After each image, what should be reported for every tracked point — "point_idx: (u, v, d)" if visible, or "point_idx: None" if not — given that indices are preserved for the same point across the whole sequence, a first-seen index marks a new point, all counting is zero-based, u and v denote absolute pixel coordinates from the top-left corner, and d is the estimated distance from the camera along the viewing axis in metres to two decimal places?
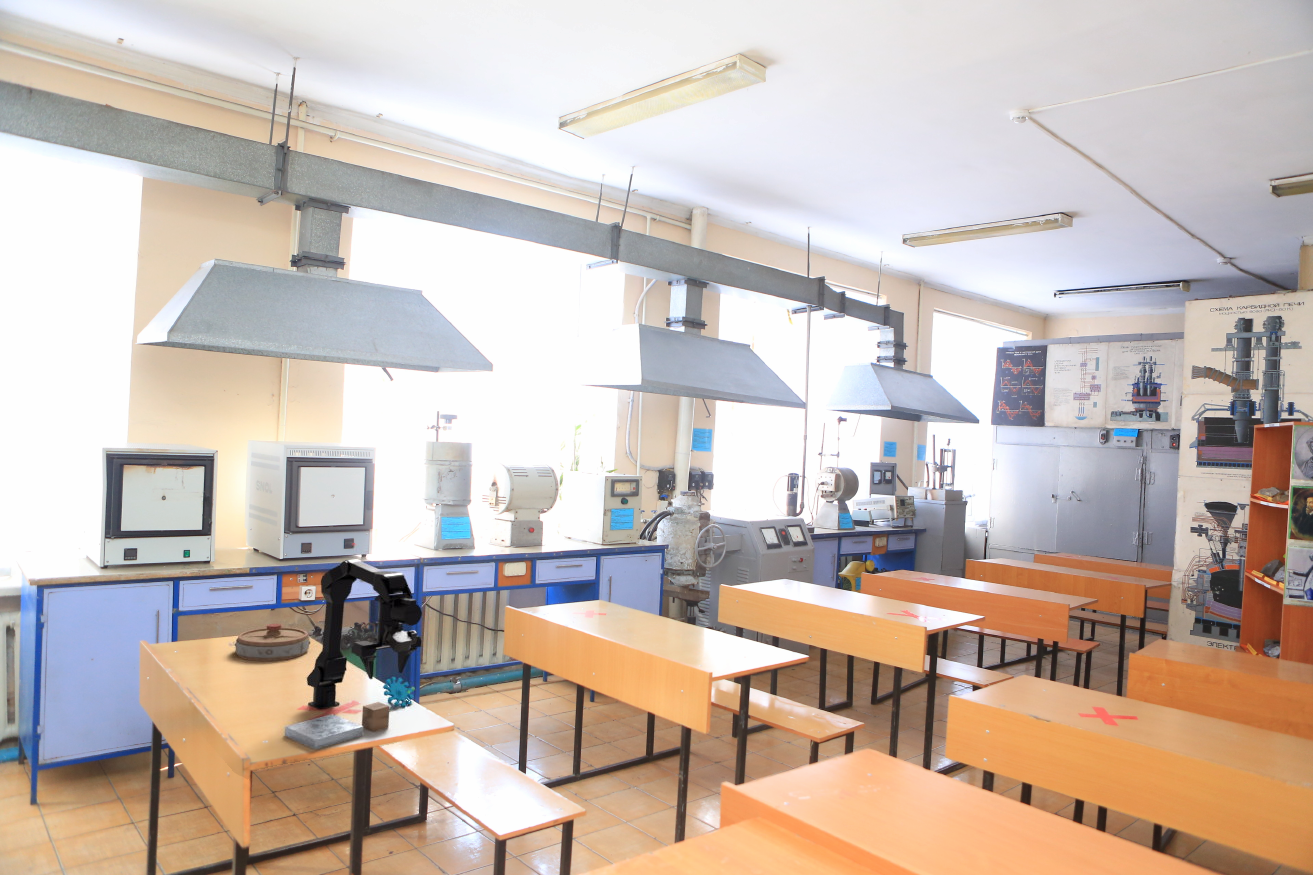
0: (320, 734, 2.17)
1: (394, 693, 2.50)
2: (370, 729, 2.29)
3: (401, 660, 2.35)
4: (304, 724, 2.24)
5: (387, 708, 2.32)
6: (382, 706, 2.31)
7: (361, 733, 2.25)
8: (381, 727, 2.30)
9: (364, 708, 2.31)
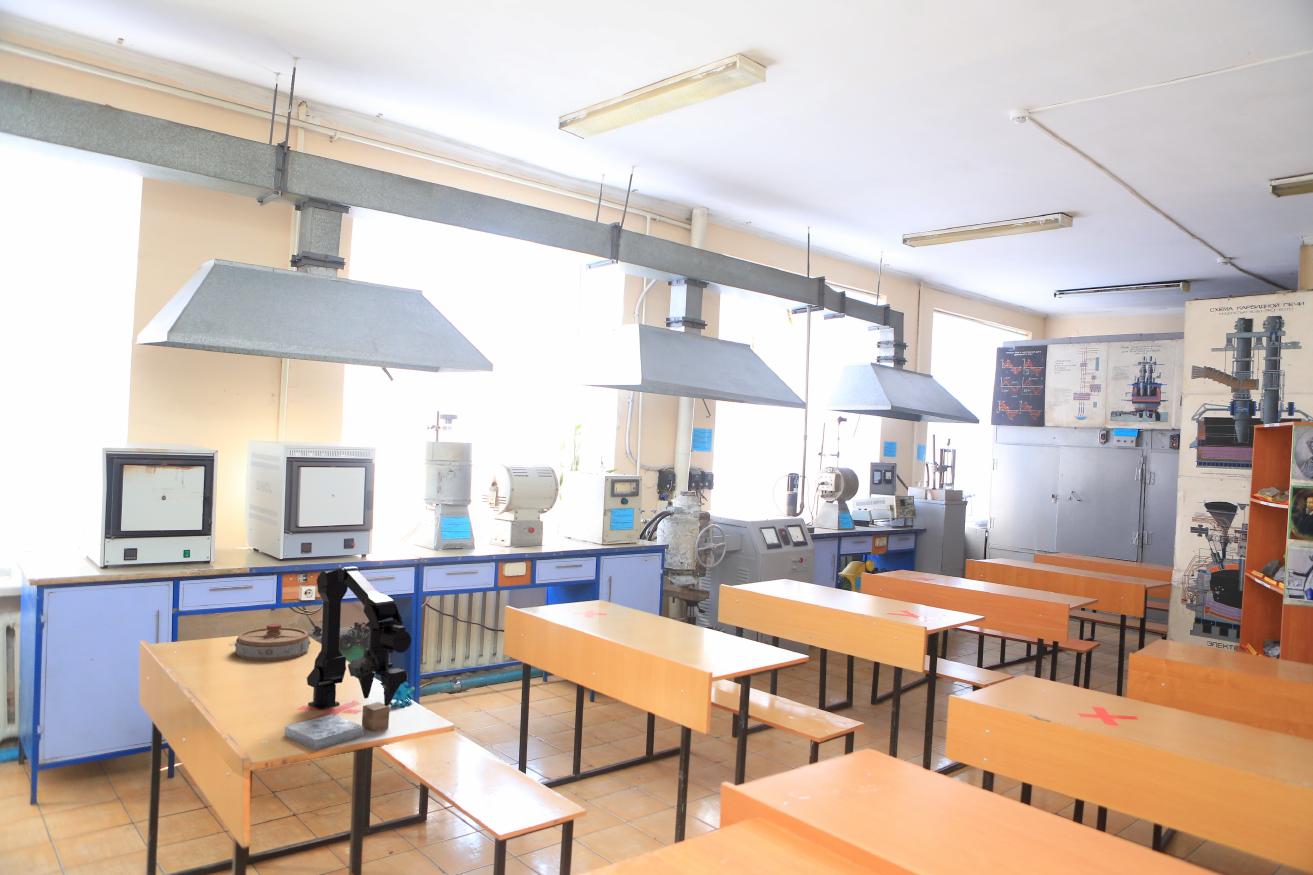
0: (320, 734, 2.17)
1: None
2: (370, 729, 2.29)
3: None
4: (304, 724, 2.24)
5: (387, 708, 2.32)
6: (382, 706, 2.31)
7: (361, 733, 2.25)
8: (381, 727, 2.30)
9: (364, 708, 2.31)
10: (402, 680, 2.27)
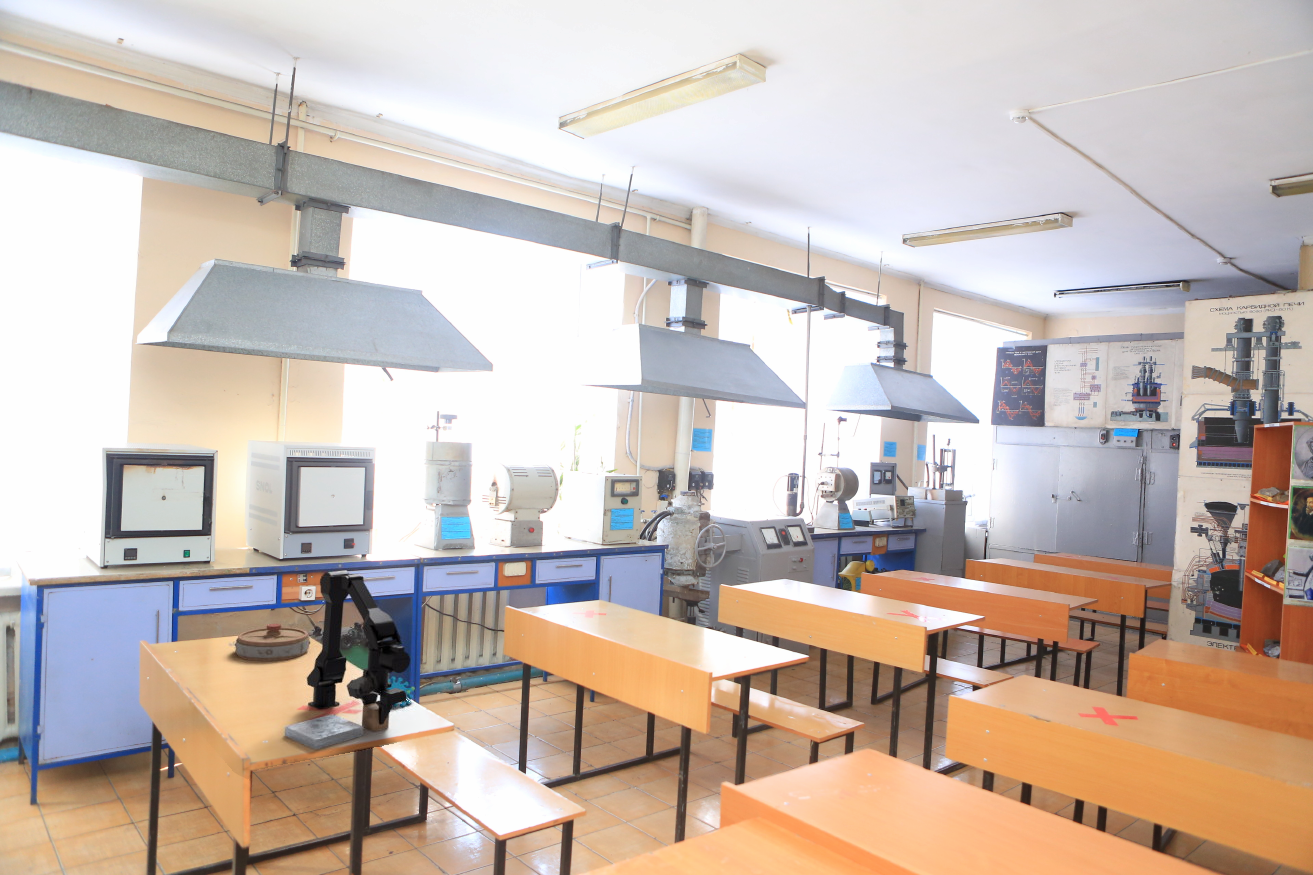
0: (320, 734, 2.17)
1: None
2: (370, 729, 2.29)
3: None
4: (304, 724, 2.24)
5: None
6: None
7: (361, 733, 2.25)
8: (381, 727, 2.30)
9: (364, 708, 2.31)
10: (401, 700, 2.27)
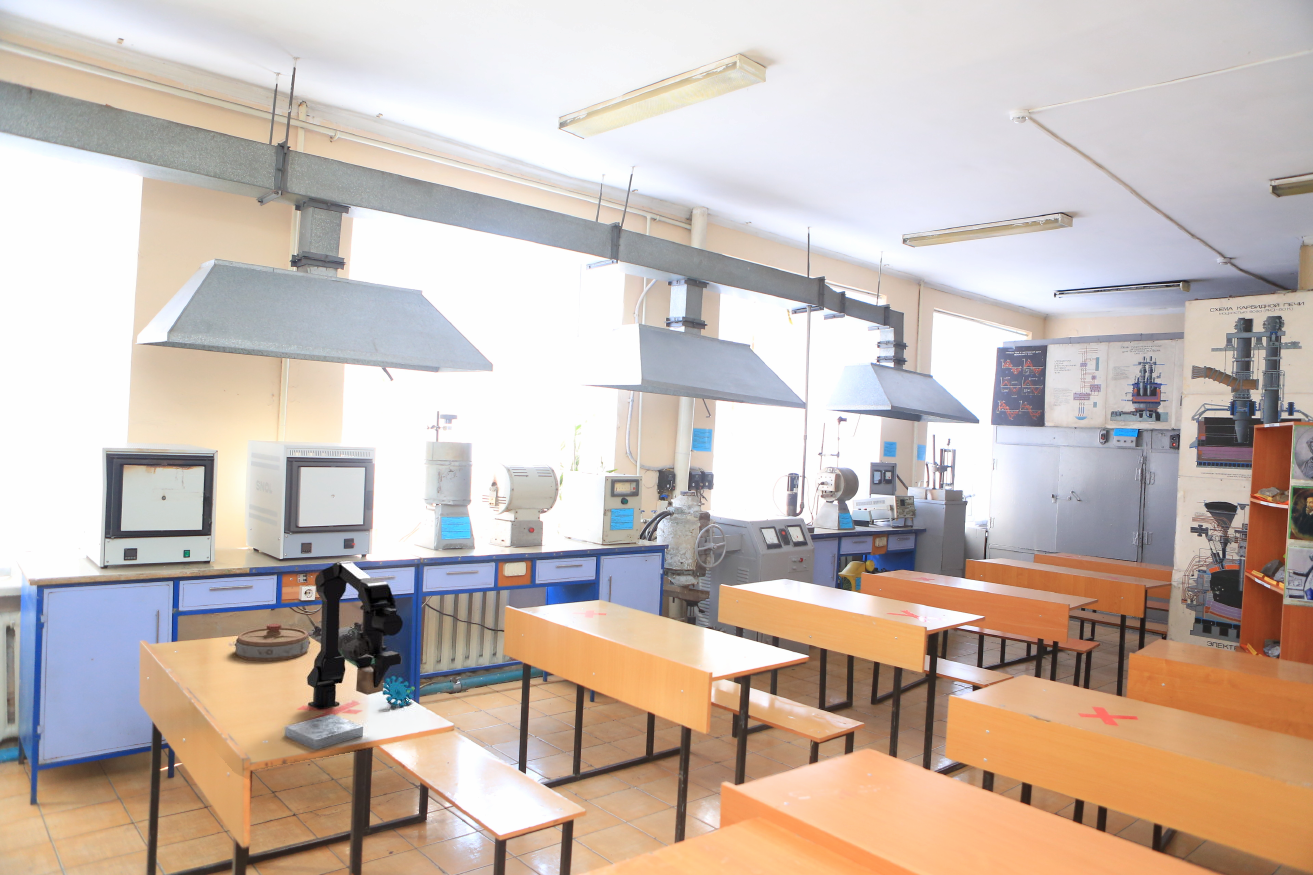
0: (320, 734, 2.17)
1: (393, 693, 2.50)
2: (365, 692, 2.28)
3: None
4: (304, 724, 2.24)
5: None
6: None
7: (361, 733, 2.25)
8: (376, 690, 2.29)
9: (359, 671, 2.29)
10: (396, 663, 2.26)
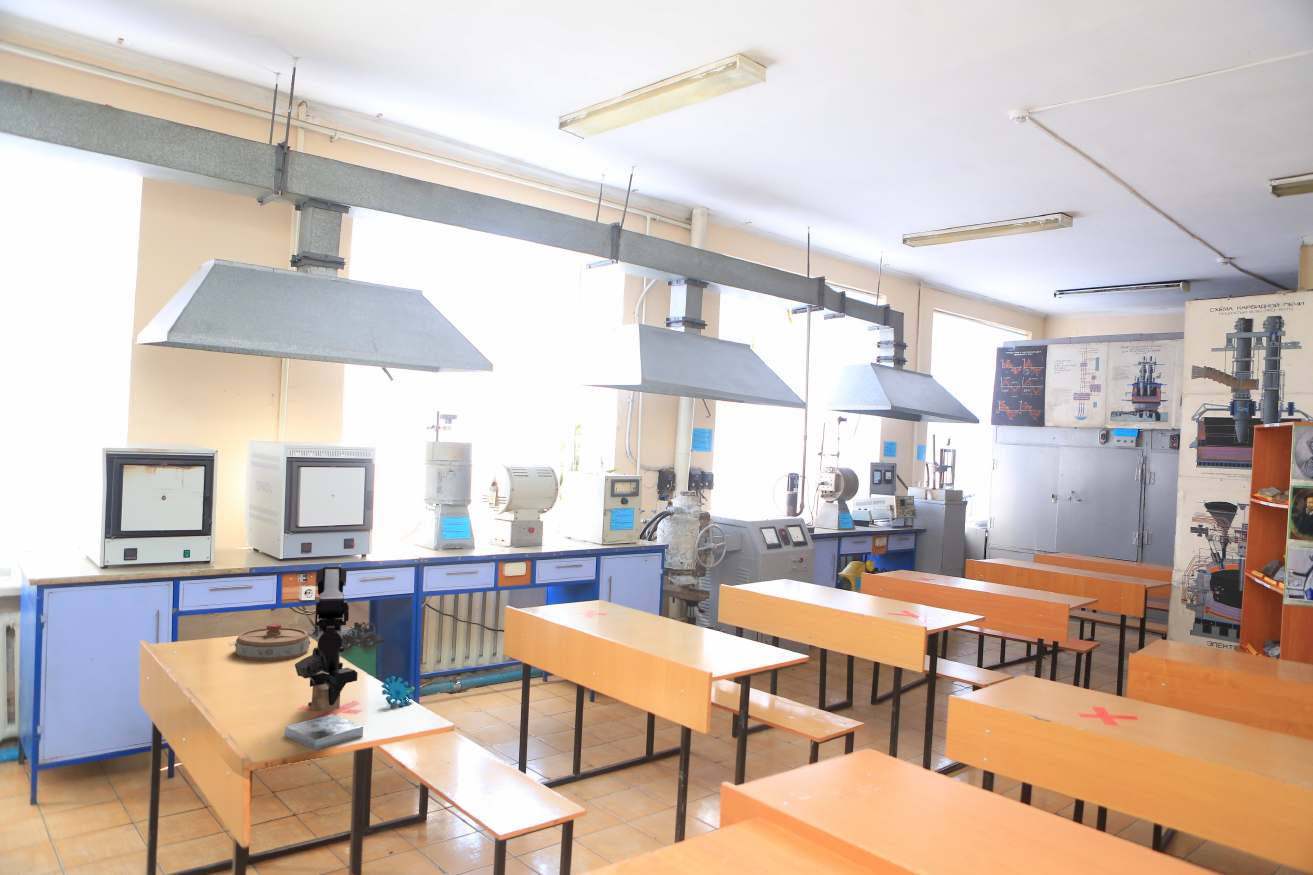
0: (320, 734, 2.17)
1: (392, 692, 2.50)
2: (320, 710, 2.21)
3: None
4: (304, 724, 2.24)
5: None
6: None
7: (361, 733, 2.25)
8: (331, 708, 2.22)
9: (314, 688, 2.23)
10: (351, 680, 2.19)
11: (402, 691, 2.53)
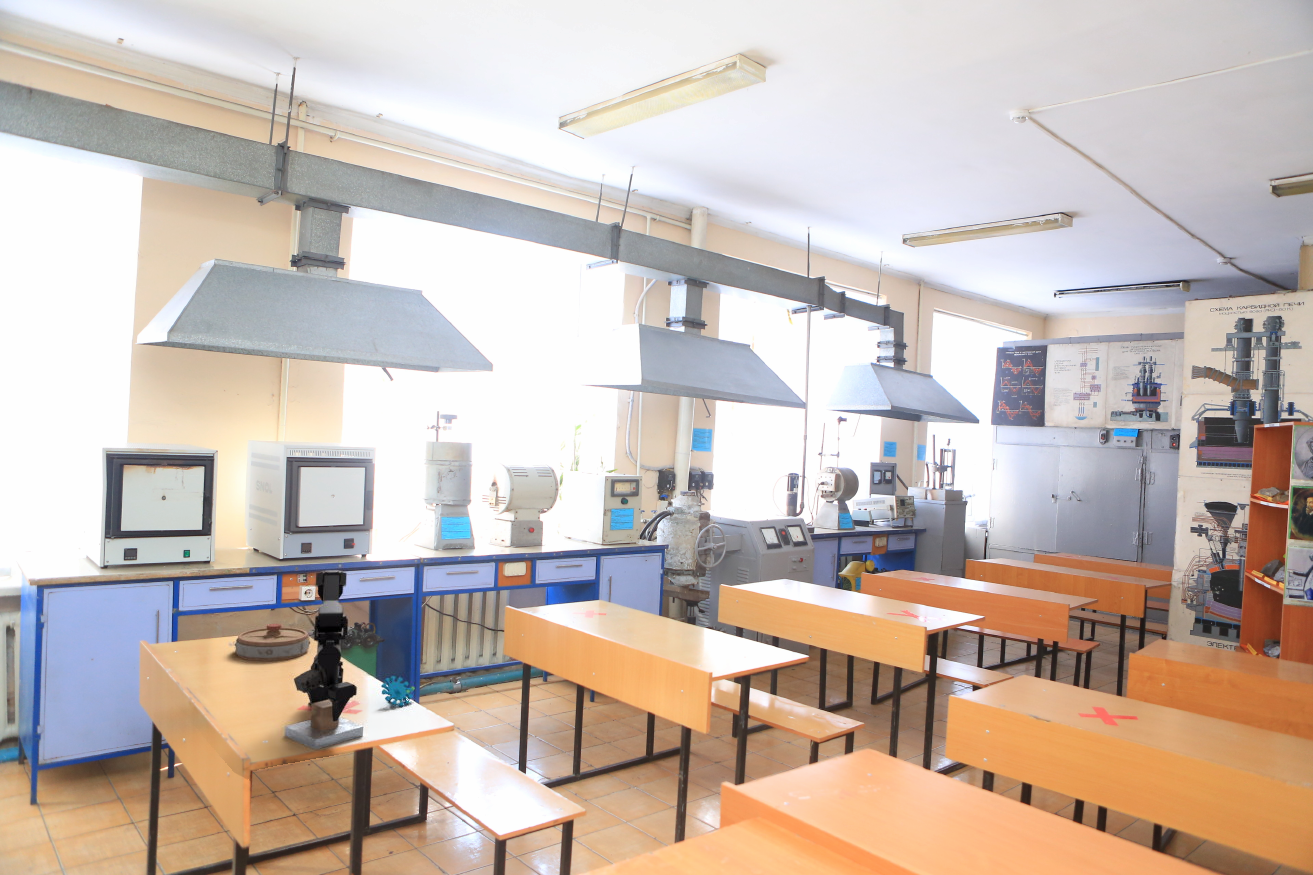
0: (320, 734, 2.17)
1: (392, 692, 2.51)
2: (319, 728, 2.21)
3: None
4: (304, 724, 2.24)
5: None
6: None
7: (361, 733, 2.25)
8: (330, 726, 2.22)
9: (313, 706, 2.22)
10: (351, 694, 2.19)
11: (402, 691, 2.53)
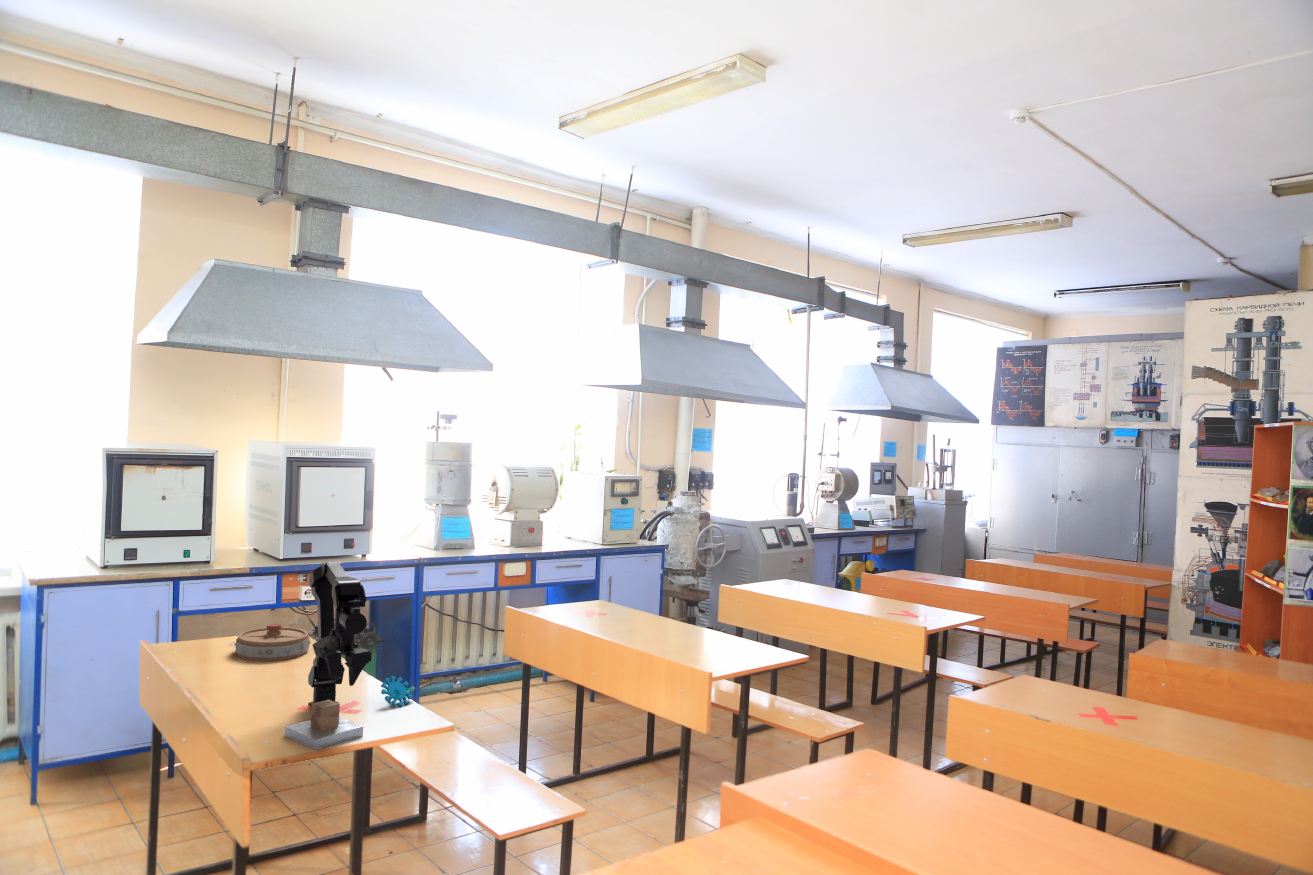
0: (320, 734, 2.17)
1: (392, 692, 2.51)
2: (319, 728, 2.21)
3: None
4: (304, 724, 2.24)
5: (337, 706, 2.24)
6: (332, 704, 2.23)
7: (361, 733, 2.25)
8: (330, 726, 2.22)
9: (313, 706, 2.22)
10: (366, 660, 2.28)
11: (402, 691, 2.53)
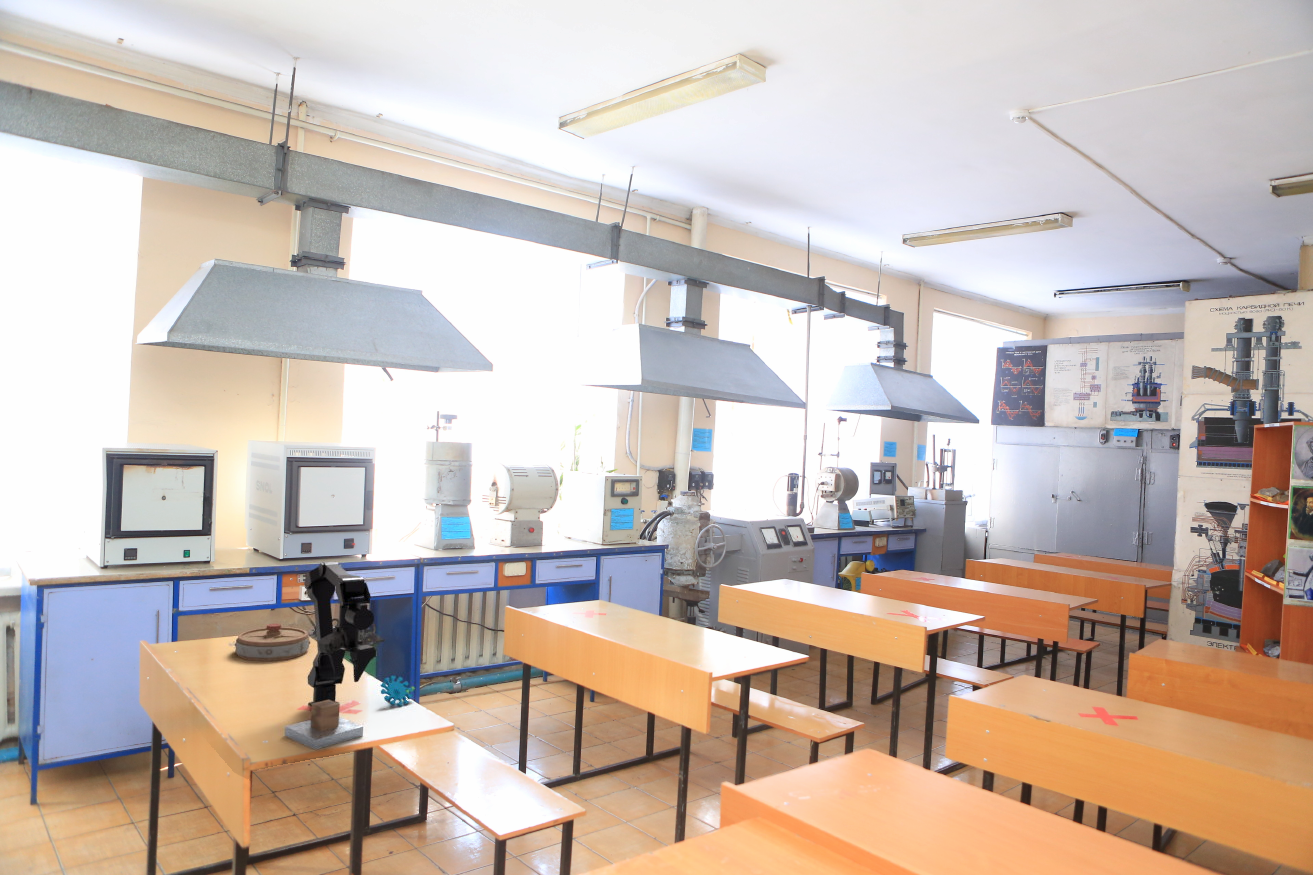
0: (320, 734, 2.17)
1: (391, 692, 2.51)
2: (319, 728, 2.21)
3: None
4: (304, 724, 2.24)
5: (337, 706, 2.24)
6: (332, 704, 2.23)
7: (361, 733, 2.25)
8: (330, 726, 2.22)
9: (313, 706, 2.22)
10: (371, 656, 2.30)
11: (401, 691, 2.53)
